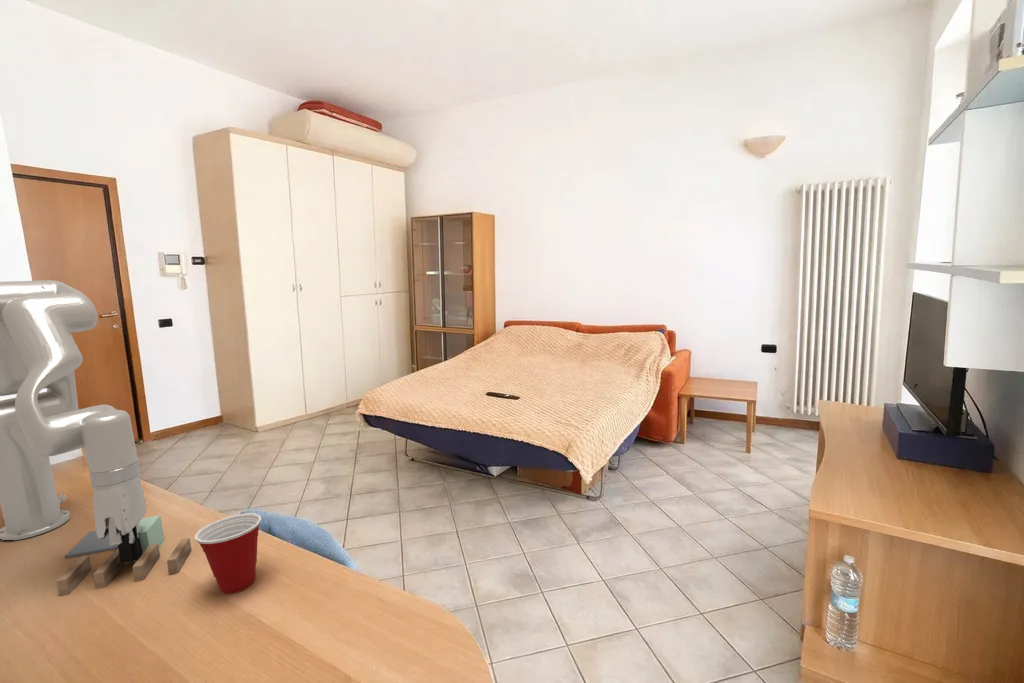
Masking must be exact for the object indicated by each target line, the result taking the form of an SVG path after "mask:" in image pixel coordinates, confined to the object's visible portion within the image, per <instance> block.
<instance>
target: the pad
mask: <svg viewBox="0 0 1024 683" xmlns="http://www.w3.org/2000/svg"><path fill="white" fill-rule="evenodd" d="M120 536H121V535H120ZM115 550H118V546H116V545H113V546H110V544H109V534H108V535H107V536H106V537H105V538H103V539H99V538H98V537H97V533H96V530H92V531H89V532H88V533H87V534H86V535H85V536H84V537H83V538H81V540H79V541H78V542H77V544H76V545H74V546H73V548H71V549H70V550H69V551H68V552H67V553H65V555H64V559H68V558H72V557H73V558H74V557H79V556H80V557H81V556H83V555H84V556H86V555H90V554H94V553H95V554H97V553H101V552H106V551H107V552H108V551H115Z"/></svg>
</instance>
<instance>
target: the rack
mask: <svg viewBox="0 0 1024 683" xmlns="http://www.w3.org/2000/svg"><path fill="white" fill-rule="evenodd" d="M175 546H176V547H174V549H173V550H172V552H171V554H170V556H169V557H168V558H167V559H166V563H167V568H168V569H167V570H168V574H169V575H174V574H178V573H179V572H180V571H181V569H182V568H183V566H184V565H185V563H186V561H187V559H188V558H189V555H191V553H190V552H192V551H193V550H192V544H191V540H190V537H186V538H182V539H180V540H179V541H178V543H177V545H175ZM160 553H161V552H160V547H159V546H158V543H157V544H152V545H149V546H148V548H147V549H146V550H145V552H144V553H143V554H142V555H141V557H140V558H139V559H138V560H137V561H135V563H134V564H133V566H132V573H133V578H134V582H138V581H139V582H140V581H143V580H145V579H146V577H147V576H148V575H149V573H150V572H151V571H152V569H153V568H154V566H155V564H157V562H158V561H157V560H159V559H160V558H161V554H160ZM159 557H160V558H159ZM125 564H126V563H121V560H120V555H119V550H118V549H117V550H113V552H112V553H111V554H109V556H108V557H107V558H106V559H105V561H103V563H102V564H101V565H100V566H99V567H98V568H97V570H95V572H94V573H93V574H92V575H93V580H94V585H95V588H96V589H102V588H106V587H107V586H108V585H109V583H110V582H111V581H112V580H113V579H114V577H115V576H116V575H117V574H118V572H119V571H120V570H121V568H122V567H123V566H124V565H125ZM92 570H93V568H92V563H91V558H90V555H84V556H80V557H79V558H78V559H77V560H76V561H75V562H73V564H71V565H70V566H69V568H68V569H67V570H66V571H65V572H64V573H63V574H62V575H61V576H60V577H59V578H58V579H57V580H56V587H57V591H58V595H59V597H61V596H66V595H70V594H71V593H72V591H73V590H74V589H75V588H76V587H77V586H78V585H79V584H80V583H81V582H82V580H83V579H85V578H86V576H87V575H88V574H89V573H90V572H91V571H92Z"/></svg>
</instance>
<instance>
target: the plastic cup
mask: <svg viewBox="0 0 1024 683" xmlns="http://www.w3.org/2000/svg"><path fill="white" fill-rule="evenodd" d="M261 522H262V516H261V515H260V514H257V513H255V512H254V513H251V512H249V513H248V512H247V513H246V512H245V513H240V514H234V515H230V516H226V517H224V518H221V519H218V520H215V521H213V522H211V523H209V524H206V526H203V527H202V528H200V529H199V530H198V531H197V532H196V533H195V534H194V540H195V542H197V543H198V544H199V545H200V547H201V549H202V551H203V553H204V555H205V557H206V559H207V562H208V565H209V567H210V570H211V572H212V575H213V578H214V579H215V582H216V583H217V586H218V589H219V590H220V592H222V593H223V594H228V595H230V594H237V593H239V592H242V591H244V590H246V589H247V588H249V587H251V585H253V584H254V582H255V580H256V579H255V578H256V576H257V575H256V573H257V570H256V569H257V568H256V567H257V561H258V560H257V559H258V537H259V530H260V524H261Z"/></svg>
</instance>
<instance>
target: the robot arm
mask: <svg viewBox="0 0 1024 683" xmlns="http://www.w3.org/2000/svg"><path fill="white" fill-rule="evenodd" d="M98 320H99V318H98V311H97V309H96V306H95V305H94V303H93V301H92V300H91V299H90V298H89V297H88V296H87V295H85V294H84V293H83V292H82V291H80V290H78V289H76V288H74V287H73V286H70V285H68V284H66V283H65V282H62V281H58V280H50V279H48V280H46V279H45V280H43V279H42V280H41V279H40V280H22V281H21V280H19V281H17V280H15V281H0V397H4V396H5V397H6V396H11V395H16V396H15V397H11V398H6V399H2V400H0V510H1V513H2V517H3V518H2V519H3V520H4V526H3V527H1V528H0V539H2V540H1V541H3V540H14V541H19V540H23V539H29V538H32V537H36V536H39V535H42V534H45V533H47V532H48V533H49V531H52V530H54V529H57V528H58V527H61V526H62V525H64V524H65V523H66V522H68V521H69V519H70V518H71V513H70V511H68V510H66V509H61V507H60V506H61V504H62V503H64V501H66V500H67V496H66V495H65V494H64V493H63V494H61V493H60V494H59V495H58V493H57V489H56V484H55V480H54V475H53V471H52V465H51V461H50V457H53V456H58V455H59V456H60V455H62V454H65V453H70V452H73V451H76V450H80V449H83V450H84V453H85V459H86V464H87V467H88V473H89V478H90V483H91V488H92V489H93V491H92V508H93V519H94V526H95V527H94V528H95V531H96V533H97V537H98V538H99V539H103V538H105V537H106V536H107V535H108V534H109V544H110V546H113V545H116V546H118V549H117V551H118V550H119V555H120V560H121V563H125V564H126V563H132V562H137V560H138V559H139V558H140V557H141V555H142V554H143V552H142V547H141V542H140V538H138V537H140V528H139V523H140V521H141V519H142V518H145V515H146V513H147V504H146V498H145V497H146V496H145V493H144V490H143V485H142V482H141V480H140V479H141V478H140V477H141V475H142V474H141V469H140V468H141V467H140V463H139V457H138V454H137V446H136V443H135V434H134V431H133V425H132V420H131V416H130V413H128V412H127V411H125V410H123V409H116V408H115V407H114V406H112V405H109V404H99V405H97V404H96V405H93V406H89V407H84V408H80V409H79V401H78V392H77V384H76V374H75V371H76V370H77V369H78V368H79V367H80V366H81V365H82V363H83V361H84V357H83V355H82V353H81V351H80V349H79V346H78V345H77V343H76V341H75V340H74V337H73V335H72V333H78V332H85V331H86V332H87V331H90V330H92V329H94V328H95V327H96V325H97V323H98ZM44 389H46V391H43V392H41V391H42V390H44ZM120 535H121V536H120Z"/></svg>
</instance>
